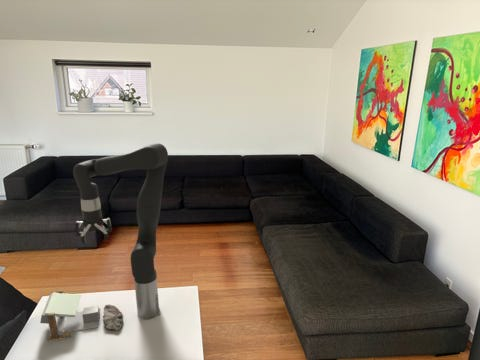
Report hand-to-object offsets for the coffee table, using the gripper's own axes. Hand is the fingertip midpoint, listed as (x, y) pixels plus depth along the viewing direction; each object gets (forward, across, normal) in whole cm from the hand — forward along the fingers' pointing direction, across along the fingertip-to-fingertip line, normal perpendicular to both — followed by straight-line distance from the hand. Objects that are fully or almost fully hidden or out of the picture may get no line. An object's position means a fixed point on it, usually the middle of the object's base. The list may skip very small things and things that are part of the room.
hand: (95, 242), depth 151 cm
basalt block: (+27, -6, -12) cm, 31 cm away
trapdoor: (+24, -15, -13) cm, 31 cm away
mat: (+30, -7, -12) cm, 33 cm away
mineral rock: (+31, +6, -16) cm, 35 cm away
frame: (+30, -15, -12) cm, 36 cm away
